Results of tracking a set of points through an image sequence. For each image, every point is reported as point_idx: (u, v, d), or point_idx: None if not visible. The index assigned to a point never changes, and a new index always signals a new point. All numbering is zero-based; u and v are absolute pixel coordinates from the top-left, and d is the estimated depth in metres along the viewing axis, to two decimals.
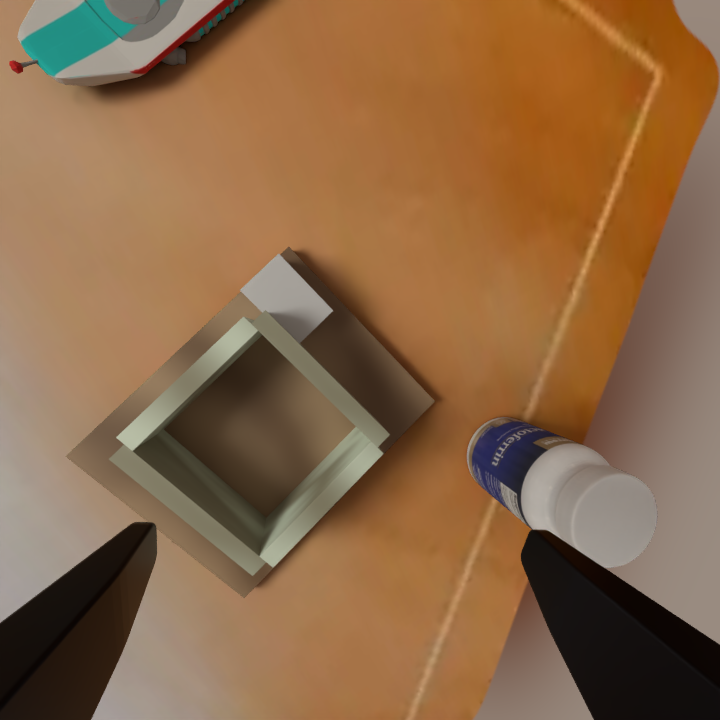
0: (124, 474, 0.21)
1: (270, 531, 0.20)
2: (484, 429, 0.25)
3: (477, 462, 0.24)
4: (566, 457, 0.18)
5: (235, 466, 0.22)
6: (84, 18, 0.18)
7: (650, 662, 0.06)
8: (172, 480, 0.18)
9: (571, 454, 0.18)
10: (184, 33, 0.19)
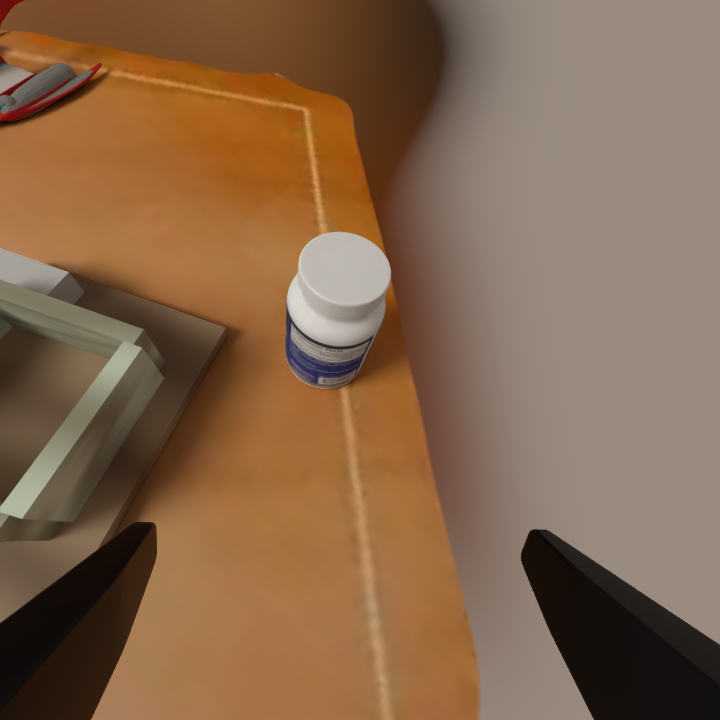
0: None
1: None
2: None
3: (288, 355, 0.23)
4: None
5: None
6: None
7: (650, 662, 0.06)
8: None
9: None
10: None
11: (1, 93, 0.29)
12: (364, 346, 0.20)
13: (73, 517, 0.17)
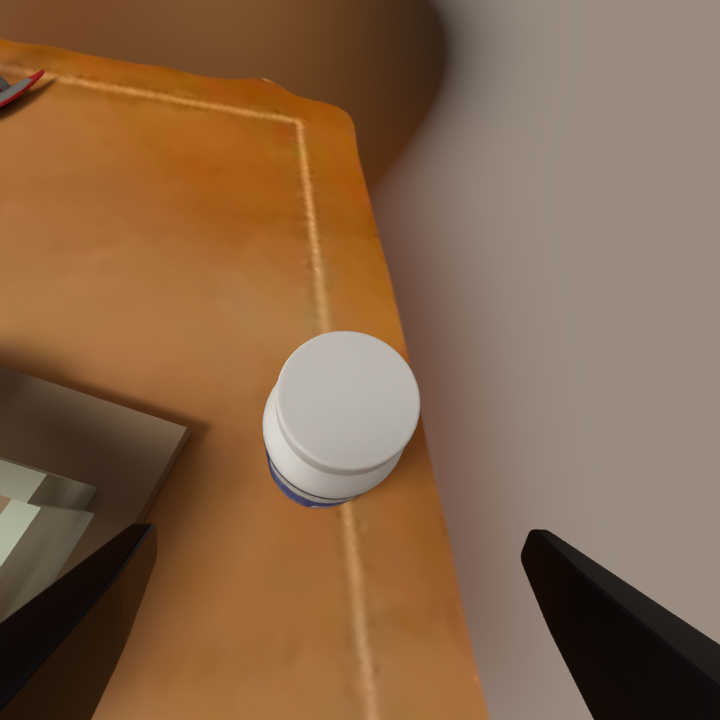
0: None
1: None
2: None
3: (270, 471, 0.17)
4: None
5: None
6: None
7: (650, 662, 0.06)
8: None
9: None
10: None
11: None
12: None
13: None
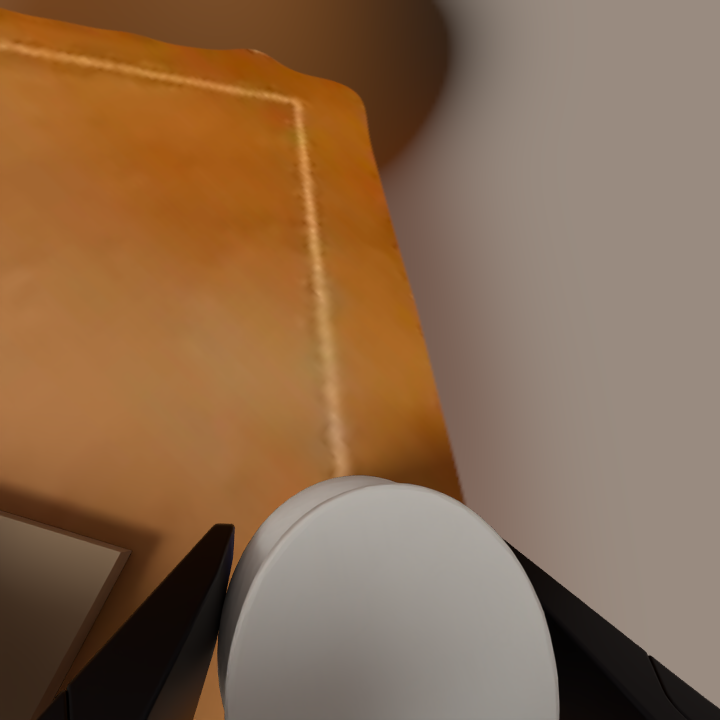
0: None
1: None
2: None
3: None
4: (277, 527, 0.07)
5: None
6: None
7: (570, 667, 0.06)
8: None
9: (289, 514, 0.07)
10: None
11: None
12: None
13: None
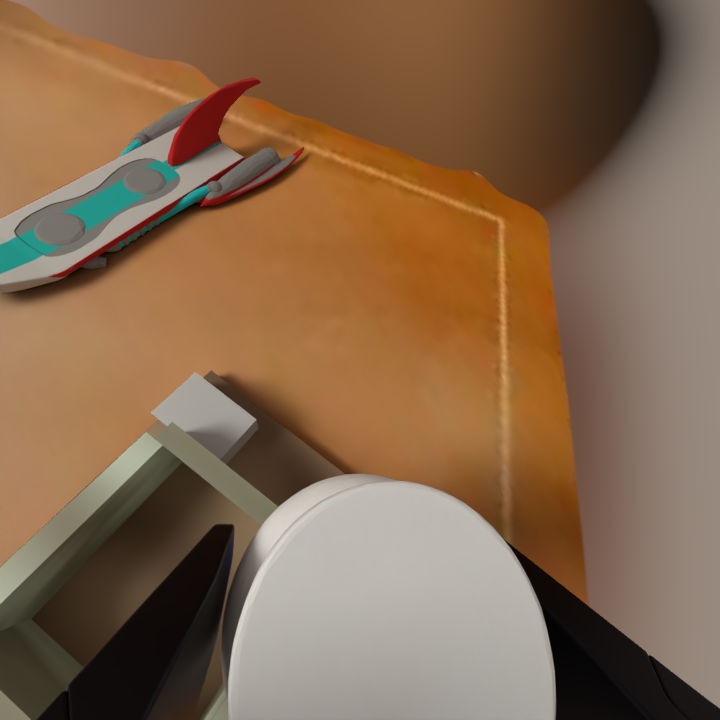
0: None
1: None
2: None
3: None
4: (279, 525, 0.07)
5: None
6: (13, 247, 0.22)
7: (570, 667, 0.06)
8: (11, 692, 0.12)
9: (291, 511, 0.07)
10: (104, 245, 0.23)
11: (211, 177, 0.28)
12: None
13: None
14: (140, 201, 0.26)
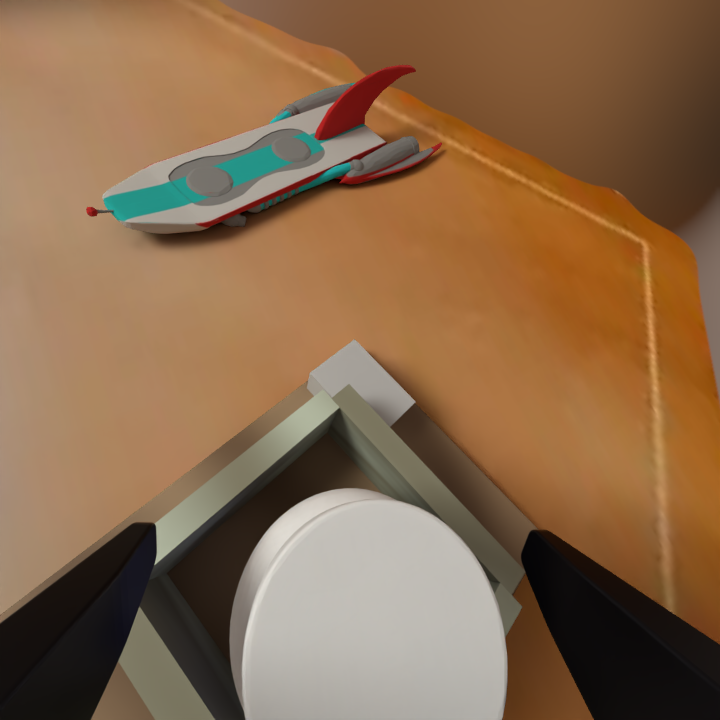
0: None
1: None
2: None
3: None
4: (280, 534, 0.08)
5: None
6: (166, 190, 0.21)
7: (650, 662, 0.06)
8: (178, 656, 0.10)
9: (290, 522, 0.08)
10: (249, 203, 0.23)
11: (354, 156, 0.27)
12: None
13: None
14: (285, 167, 0.25)
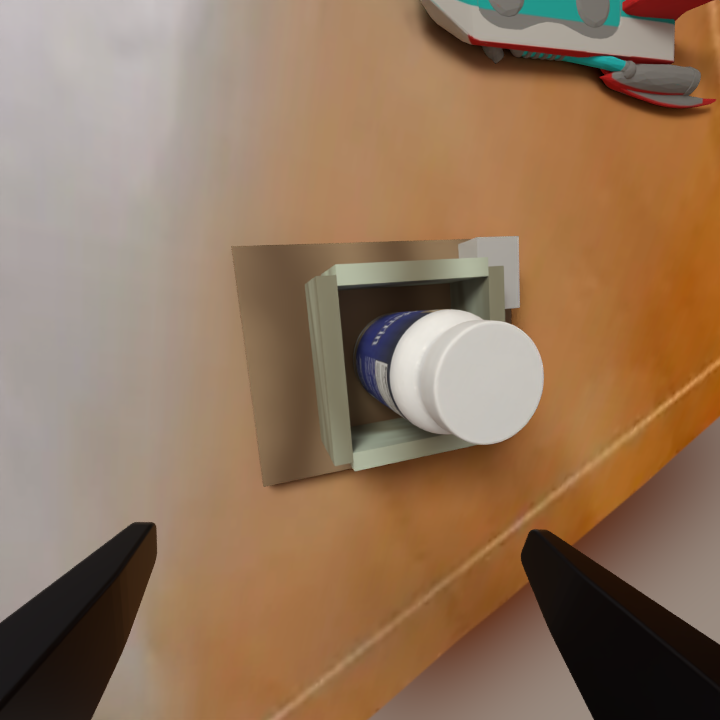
0: (262, 301, 0.20)
1: (356, 440, 0.19)
2: (376, 319, 0.20)
3: (360, 351, 0.19)
4: (451, 317, 0.14)
5: (348, 367, 0.21)
6: None
7: (650, 662, 0.06)
8: None
9: (457, 315, 0.15)
10: (518, 44, 0.22)
11: (635, 56, 0.24)
12: None
13: None
14: (573, 24, 0.23)
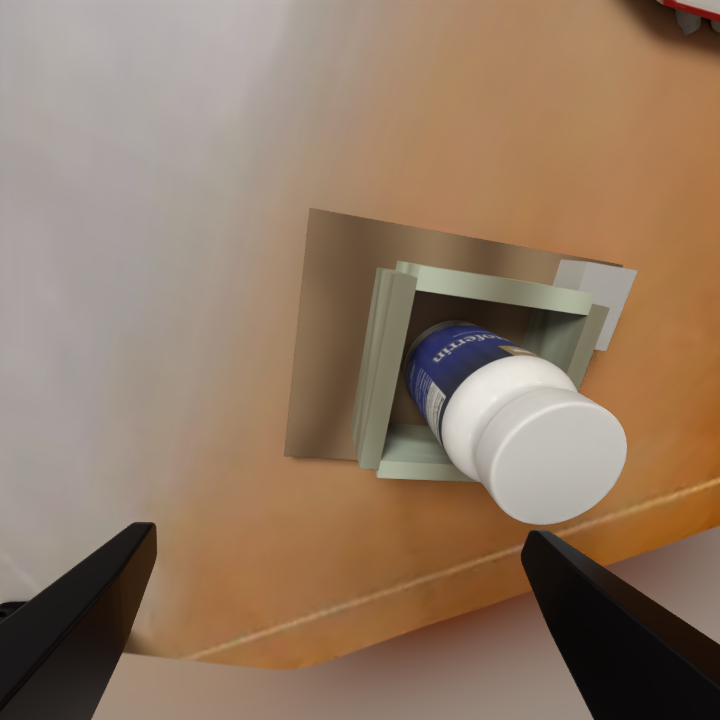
0: (327, 276, 0.18)
1: (386, 444, 0.19)
2: (443, 325, 0.18)
3: (417, 357, 0.18)
4: (535, 370, 0.12)
5: None
6: None
7: (650, 662, 0.06)
8: None
9: (543, 370, 0.13)
10: None
11: None
12: None
13: None
14: None
